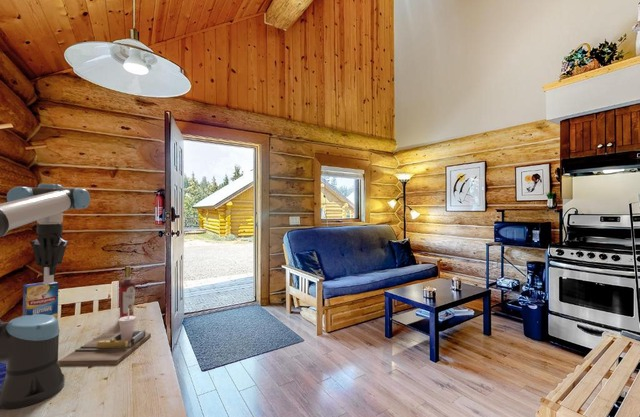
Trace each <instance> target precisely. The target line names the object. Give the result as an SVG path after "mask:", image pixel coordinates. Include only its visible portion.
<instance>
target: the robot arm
mask: <svg viewBox="0 0 640 417" xmlns="http://www.w3.org/2000/svg"><path fill="white" fill-rule="evenodd" d="M6 201H7V202H3V203H2V202H1V203H0V238H1V237H5V235H7V233H8V232H9V231H10V230H13V229H17V228H20V227H22V226H25V225H28V224H30V223H34V222H37V223H38V224H37V225H36V234H37V237H36V239H35V240H31V241H29V242H30V243H29V244H30V246H31V247H32V250H33V254H34V259H35V264H36V266H40V267H41V268H42V270H41V271H42V273H41V274H42V276H43V282H44V284H50V283H54V281H55V279H54V278H55V275H56V272H57V271H56V267H57V266H59V265H62V263H63V259H64V256H65V251H66V248H67V246H68V245H69V240H65V239H63V235H62V233H63V232H64V231H63V230H64V228H63V227H64V224H62V223H63V221H64V220H63V219H64V212H65V211H69V210H82V209H83V210H84V209H86V208H88V207H89V205H90V203H91V194H90V193H89V191H88V190H87V189H86V188H85V189H84V188H76V187H73V188H71V187H70V188H69V187H67V188H66V187H63V186H62V185H61V184H54V183H39V184H38V185H37V187H32V186H30V187H29V186H14V187H12V188H10V189H9V191H8V192H7V193H6ZM59 325H60V324H59V319H58V320H57V318H55V317H54V316H51V315H45V314H34V315H26V316H23V315H21V316H17V317H15V318H13V319H10V320H9V321H2V320H1V319H0V364H3V363H4V364H5V366H6V367H5V377H4V378H3V382H2V383H1V386H0V409H2V410H12V409H18V408H25V407H27V406H30V405H35V404H37V403H39V402H43V401H44V400H47V399H49V398H50V397H53V396H54V395H56V394H58V392H60V391H61V390H62V389H63V388H64V386H65V383H66V382H65V380H66V379H65V378H66V377H65V375H64V373H63V372H62V369H61V367H60V366H61V365H59V363H58V361H59V340H60V339H59V338H60V337H59V336H60V326H59Z"/></svg>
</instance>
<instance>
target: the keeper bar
mask: <svg viewBox="0 0 640 417" xmlns="http://www.w3.org/2000/svg"><path fill="white" fill-rule="evenodd" d="M115 339H116V338H111V339H110V341H99V342H97V349H127V348H128V340H119V341H115Z"/></svg>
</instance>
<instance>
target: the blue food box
mask: <svg viewBox="0 0 640 417" xmlns="http://www.w3.org/2000/svg"><path fill="white" fill-rule="evenodd" d="M22 286H23V289H22V316H26V315H34V314H45V315H51V316H54V317H55V318H57V320H58V321H59V317H58V316H59V315H58V314H59V312H58V311H59V282H58V281H55V280H54V283H50V284H44V281H42V282H35V283H29V284H23V285H22Z"/></svg>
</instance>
